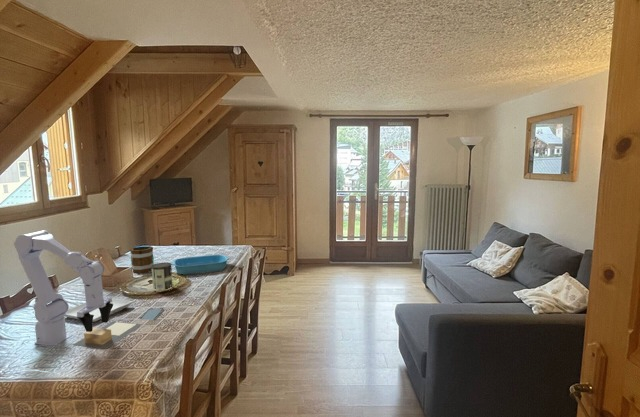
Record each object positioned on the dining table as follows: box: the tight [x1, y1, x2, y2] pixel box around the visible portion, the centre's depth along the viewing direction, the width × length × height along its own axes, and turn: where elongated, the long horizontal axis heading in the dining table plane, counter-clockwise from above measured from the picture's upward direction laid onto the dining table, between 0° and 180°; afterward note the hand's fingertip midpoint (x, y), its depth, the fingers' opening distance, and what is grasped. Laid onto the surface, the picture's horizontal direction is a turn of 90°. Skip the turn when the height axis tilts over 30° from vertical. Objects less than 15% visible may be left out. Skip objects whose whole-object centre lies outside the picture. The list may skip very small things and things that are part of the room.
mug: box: [129, 245, 155, 274], centre depth 226 cm, size 20×14×15 cm
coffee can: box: [151, 261, 173, 290], centre depth 190 cm, size 10×10×14 cm
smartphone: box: [139, 307, 165, 321], centre depth 157 cm, size 7×1×15 cm
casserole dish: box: [170, 254, 230, 276], centre depth 226 cm, size 37×22×7 cm, turn 114°
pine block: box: [83, 327, 112, 345], centre depth 134 cm, size 8×4×4 cm, turn 80°
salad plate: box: [64, 296, 133, 323], centre depth 160 cm, size 21×21×3 cm
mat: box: [72, 321, 143, 350], centre depth 139 cm, size 15×20×1 cm
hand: (97, 326), depth 133 cm, fingers open, 7 cm apart
